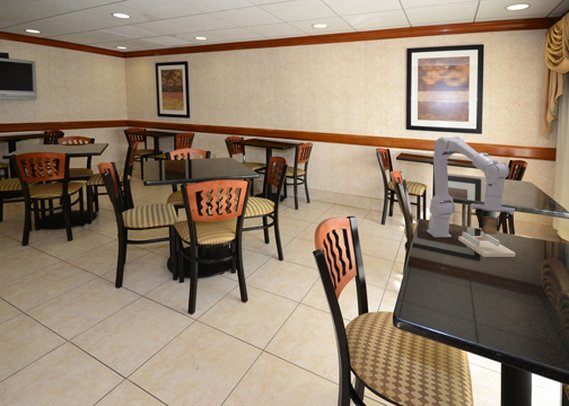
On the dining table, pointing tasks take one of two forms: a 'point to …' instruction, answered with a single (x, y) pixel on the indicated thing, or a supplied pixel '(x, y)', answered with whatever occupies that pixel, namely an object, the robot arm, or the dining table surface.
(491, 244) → the channel
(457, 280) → the dining table surface
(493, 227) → the walnut block
